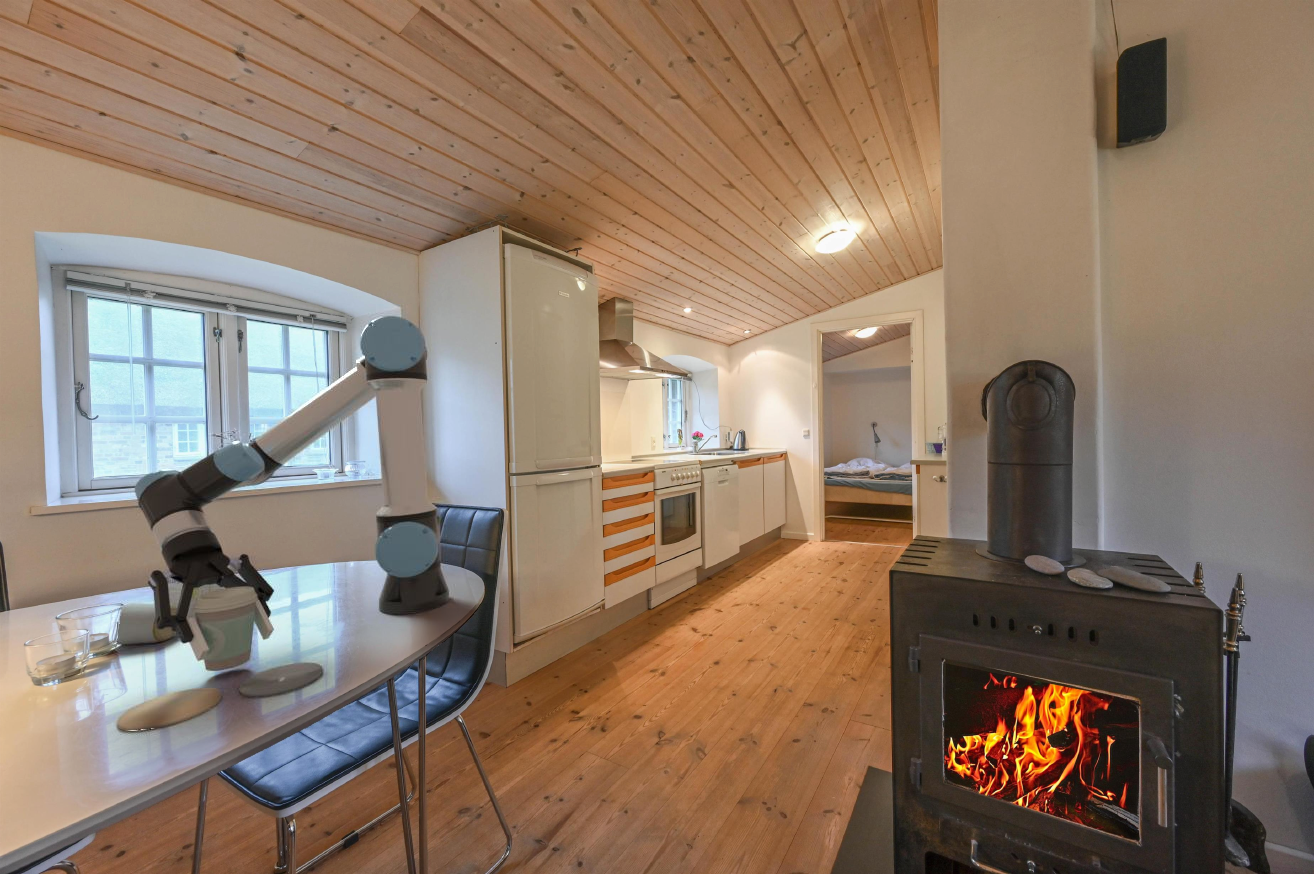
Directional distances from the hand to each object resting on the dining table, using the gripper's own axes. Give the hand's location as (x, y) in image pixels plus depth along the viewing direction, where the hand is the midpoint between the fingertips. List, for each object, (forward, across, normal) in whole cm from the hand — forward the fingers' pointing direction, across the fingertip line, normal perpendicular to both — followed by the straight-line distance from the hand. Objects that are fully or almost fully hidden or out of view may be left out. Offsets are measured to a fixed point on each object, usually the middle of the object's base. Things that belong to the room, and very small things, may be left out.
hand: (237, 644), depth 86 cm
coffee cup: (0, 0, -5) cm, 5 cm away
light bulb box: (-27, -12, -35) cm, 46 cm away
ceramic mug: (-22, -2, -30) cm, 37 cm away
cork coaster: (+6, +10, -1) cm, 12 cm away
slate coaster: (+10, -2, +2) cm, 10 cm away
